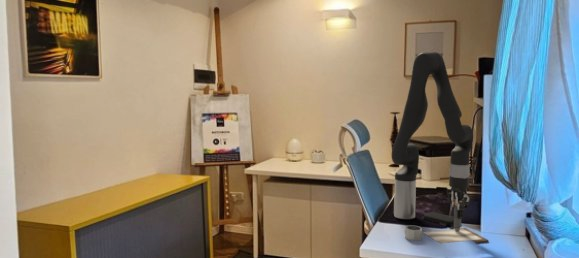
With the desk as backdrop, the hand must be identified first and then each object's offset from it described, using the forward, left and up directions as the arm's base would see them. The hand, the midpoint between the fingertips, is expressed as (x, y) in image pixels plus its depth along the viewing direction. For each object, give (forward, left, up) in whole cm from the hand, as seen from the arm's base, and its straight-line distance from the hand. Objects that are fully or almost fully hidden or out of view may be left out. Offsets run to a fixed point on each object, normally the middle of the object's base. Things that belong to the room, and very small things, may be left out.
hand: (457, 217), depth 185 cm
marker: (0, 0, -5) cm, 5 cm away
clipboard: (+4, -5, -7) cm, 9 cm away
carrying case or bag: (-15, +1, -7) cm, 16 cm away
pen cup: (+3, -21, -7) cm, 22 cm away
